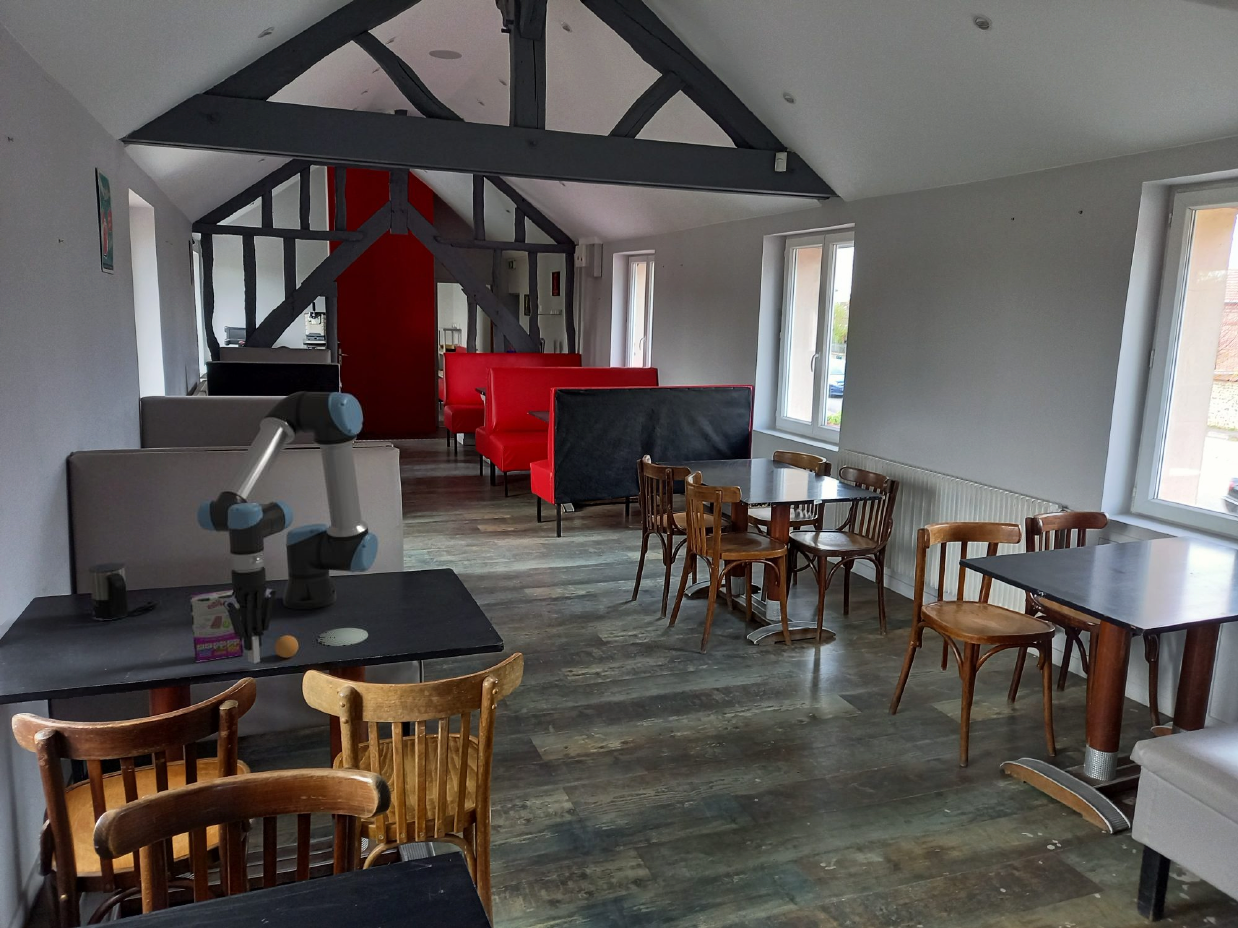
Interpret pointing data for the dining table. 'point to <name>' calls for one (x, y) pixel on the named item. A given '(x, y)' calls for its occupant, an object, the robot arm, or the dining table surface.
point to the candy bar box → (213, 627)
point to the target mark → (343, 636)
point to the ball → (286, 646)
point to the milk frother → (111, 591)
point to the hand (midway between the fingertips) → (253, 661)
